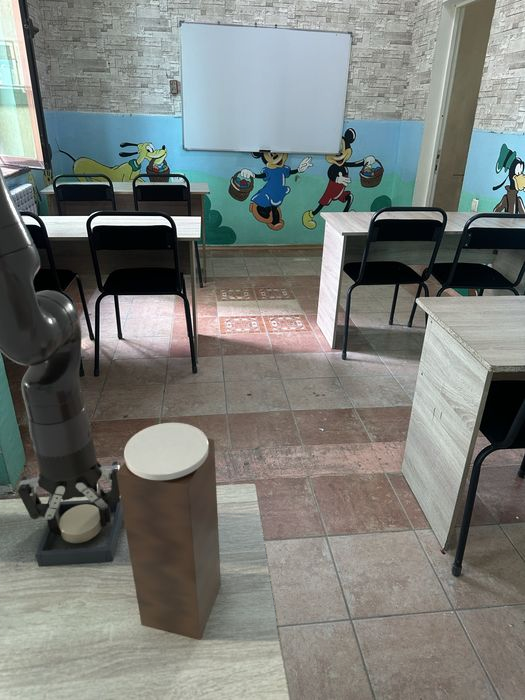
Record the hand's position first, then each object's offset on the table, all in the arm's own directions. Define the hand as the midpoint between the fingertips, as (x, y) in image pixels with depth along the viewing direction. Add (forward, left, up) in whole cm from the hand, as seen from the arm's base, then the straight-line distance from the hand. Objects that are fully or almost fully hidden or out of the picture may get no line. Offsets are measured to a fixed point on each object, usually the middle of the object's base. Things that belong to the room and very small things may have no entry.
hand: (81, 527), depth 73 cm
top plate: (0, 0, -1) cm, 1 cm away
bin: (0, 0, -3) cm, 3 cm away
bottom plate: (+19, -7, +23) cm, 31 cm away
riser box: (+19, -7, -3) cm, 21 cm away
